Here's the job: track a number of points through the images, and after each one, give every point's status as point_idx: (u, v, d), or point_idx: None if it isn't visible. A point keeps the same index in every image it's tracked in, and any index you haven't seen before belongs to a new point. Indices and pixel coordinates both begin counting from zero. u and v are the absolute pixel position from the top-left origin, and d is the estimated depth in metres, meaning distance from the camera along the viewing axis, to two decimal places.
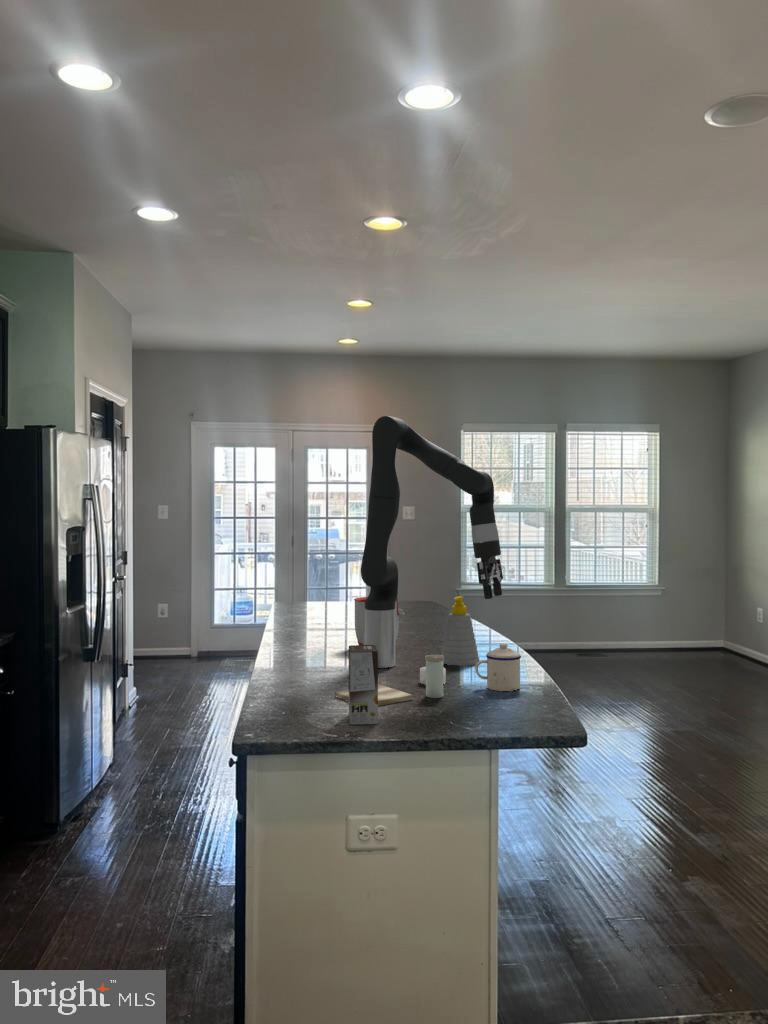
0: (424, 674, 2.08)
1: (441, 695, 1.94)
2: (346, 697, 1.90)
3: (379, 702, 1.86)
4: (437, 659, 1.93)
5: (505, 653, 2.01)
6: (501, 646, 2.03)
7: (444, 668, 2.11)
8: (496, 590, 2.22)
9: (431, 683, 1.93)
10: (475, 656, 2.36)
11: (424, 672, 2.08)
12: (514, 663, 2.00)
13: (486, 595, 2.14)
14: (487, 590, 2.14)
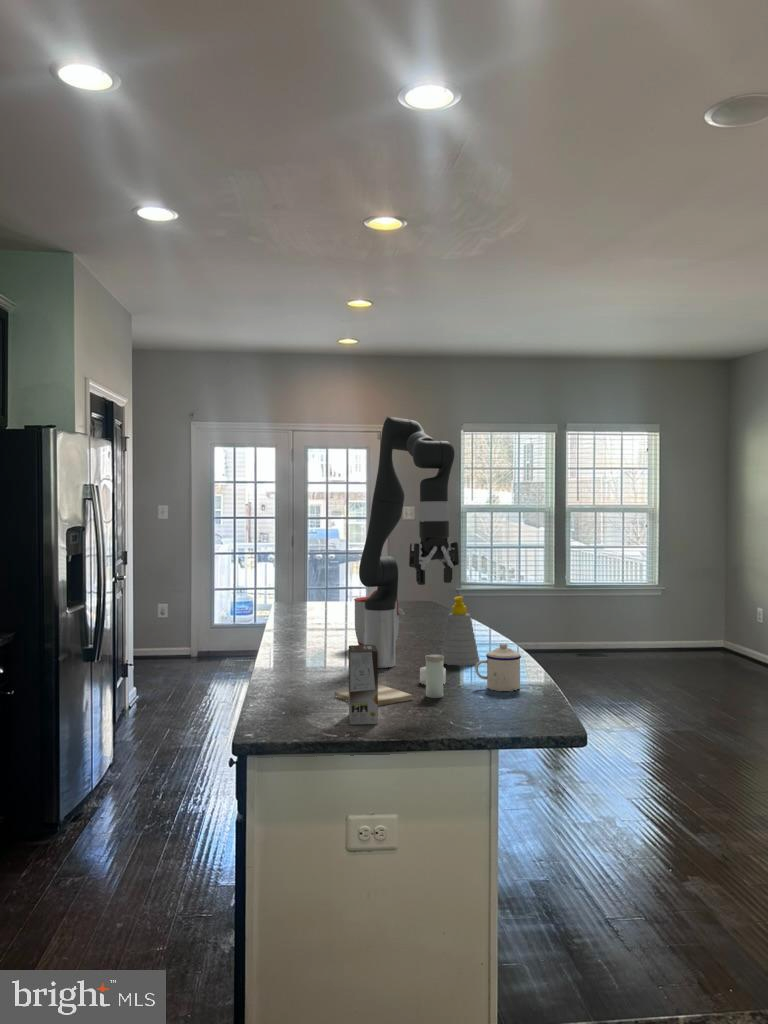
0: (424, 674, 2.08)
1: (441, 695, 1.94)
2: (346, 697, 1.90)
3: (379, 702, 1.86)
4: (437, 659, 1.93)
5: (505, 653, 2.01)
6: (501, 646, 2.03)
7: (444, 668, 2.11)
8: (445, 576, 1.98)
9: (431, 683, 1.93)
10: (475, 656, 2.36)
11: (424, 672, 2.08)
12: (513, 663, 2.00)
13: (417, 580, 1.93)
14: (418, 575, 1.92)
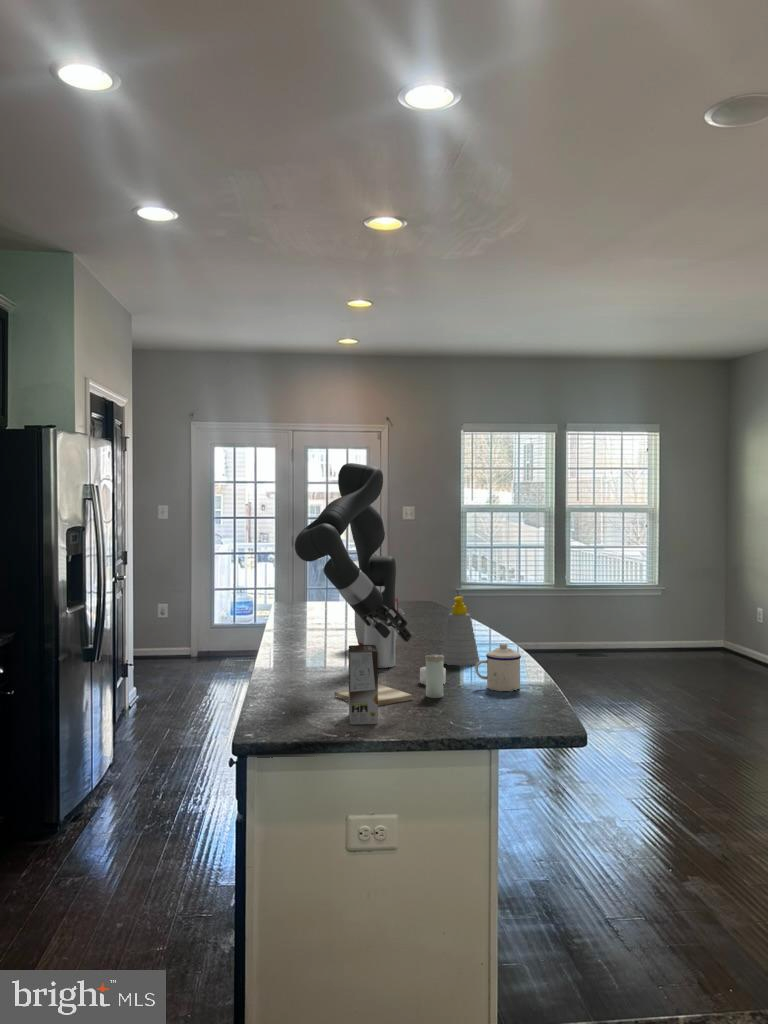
0: (424, 674, 2.08)
1: (441, 695, 1.94)
2: (346, 697, 1.90)
3: (379, 702, 1.86)
4: (437, 659, 1.93)
5: (505, 653, 2.01)
6: (501, 646, 2.03)
7: (444, 668, 2.11)
8: None
9: (431, 683, 1.93)
10: (475, 656, 2.36)
11: (424, 672, 2.08)
12: (513, 663, 2.00)
13: None
14: None
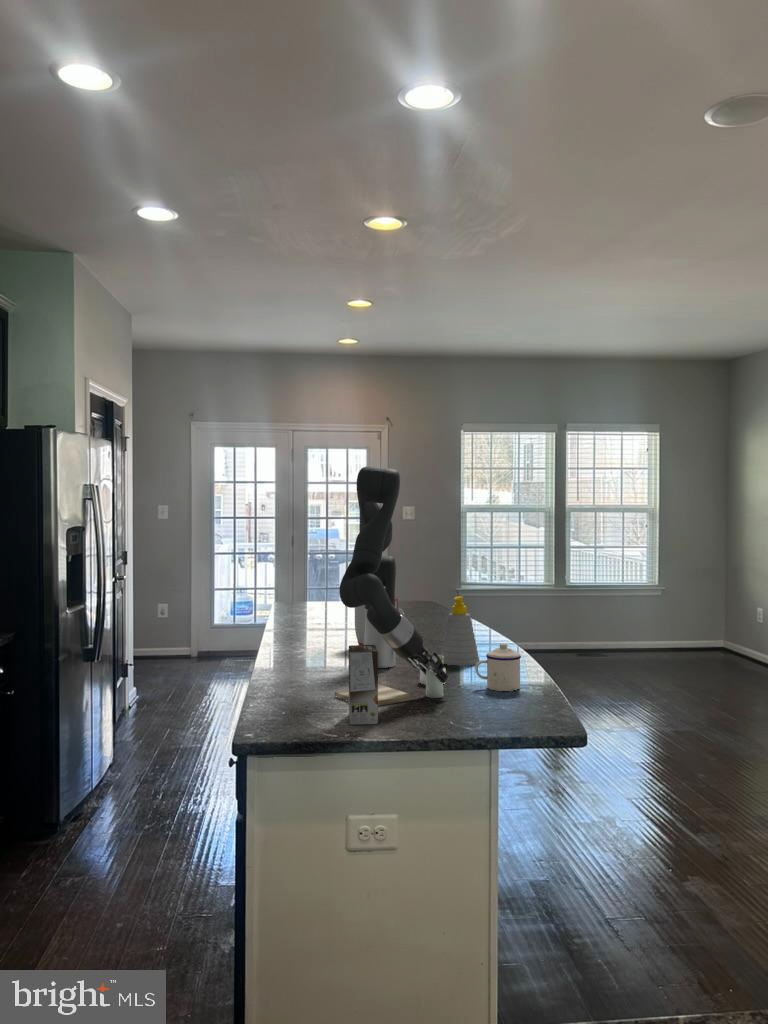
0: (423, 674, 2.08)
1: (441, 695, 1.94)
2: (346, 697, 1.90)
3: (379, 702, 1.86)
4: None
5: (505, 653, 2.01)
6: (501, 646, 2.03)
7: (444, 668, 2.11)
8: None
9: (431, 683, 1.93)
10: (475, 656, 2.36)
11: None
12: (514, 663, 2.00)
13: None
14: None
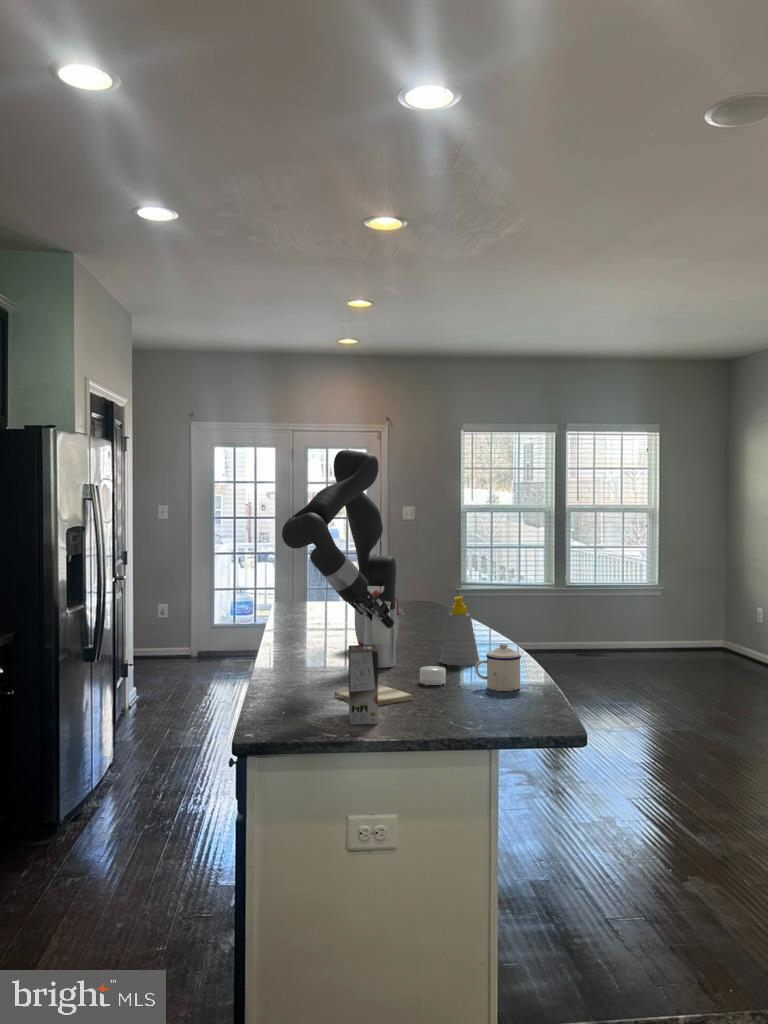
0: (423, 674, 2.08)
1: (387, 641, 1.92)
2: (346, 697, 1.90)
3: (379, 702, 1.86)
4: None
5: (505, 653, 2.01)
6: (501, 646, 2.03)
7: (444, 668, 2.10)
8: None
9: (377, 628, 1.91)
10: (475, 656, 2.36)
11: (423, 672, 2.08)
12: (513, 663, 2.00)
13: None
14: None
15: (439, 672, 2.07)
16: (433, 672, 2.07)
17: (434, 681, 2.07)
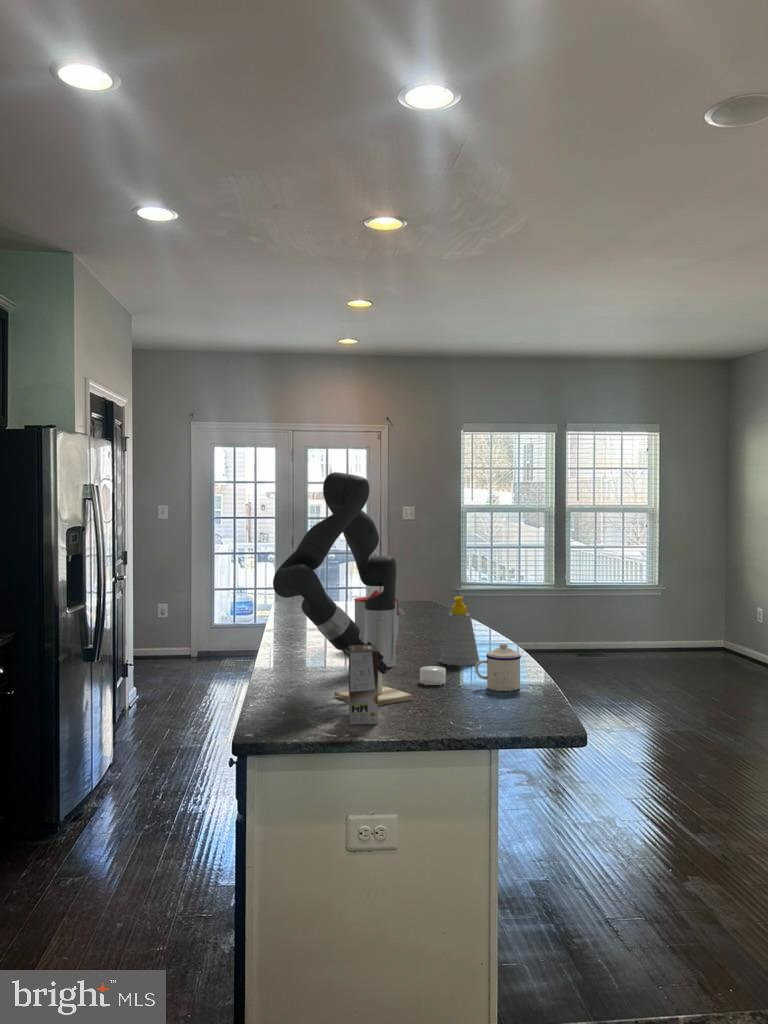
0: (423, 674, 2.08)
1: (379, 693, 1.91)
2: (346, 697, 1.90)
3: (379, 702, 1.86)
4: None
5: (505, 653, 2.01)
6: (501, 646, 2.03)
7: (444, 668, 2.10)
8: None
9: None
10: (475, 656, 2.36)
11: (423, 672, 2.08)
12: (513, 663, 2.00)
13: None
14: None
15: (439, 672, 2.07)
16: (433, 672, 2.07)
17: (434, 681, 2.07)
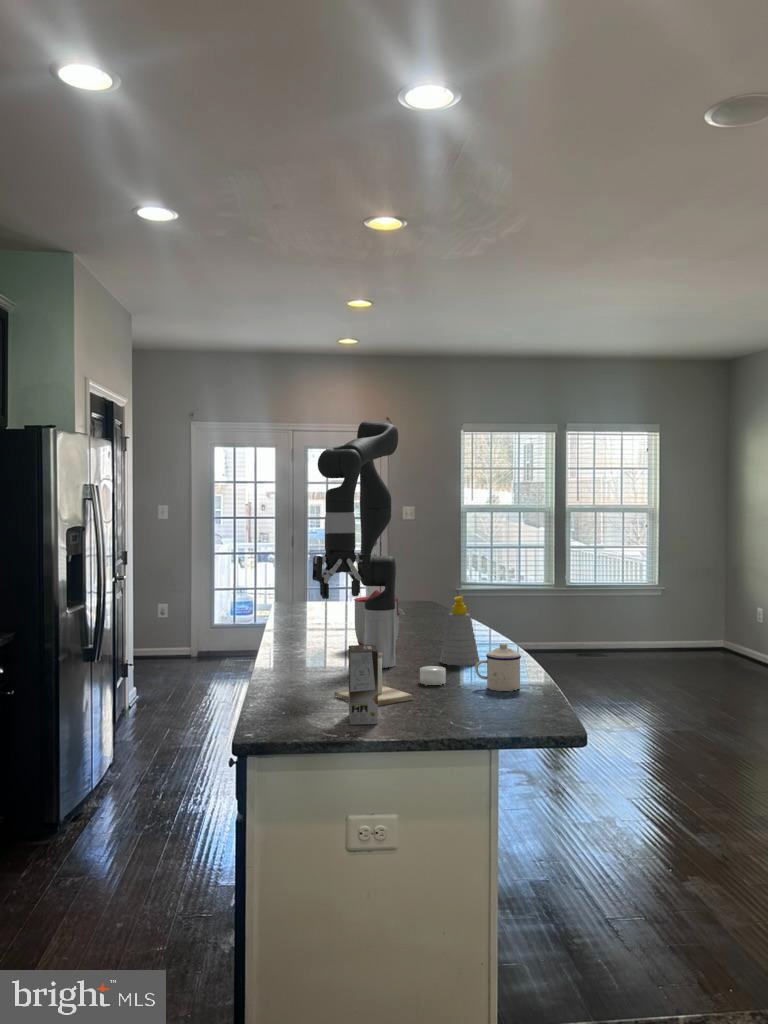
0: (423, 674, 2.08)
1: (379, 693, 1.91)
2: (346, 697, 1.90)
3: (379, 702, 1.86)
4: None
5: (505, 653, 2.01)
6: (501, 646, 2.03)
7: (444, 668, 2.10)
8: (353, 589, 1.91)
9: None
10: (475, 656, 2.36)
11: (423, 672, 2.08)
12: (513, 663, 2.00)
13: (321, 594, 1.86)
14: (322, 589, 1.86)
15: (439, 672, 2.07)
16: (433, 672, 2.07)
17: (433, 681, 2.07)
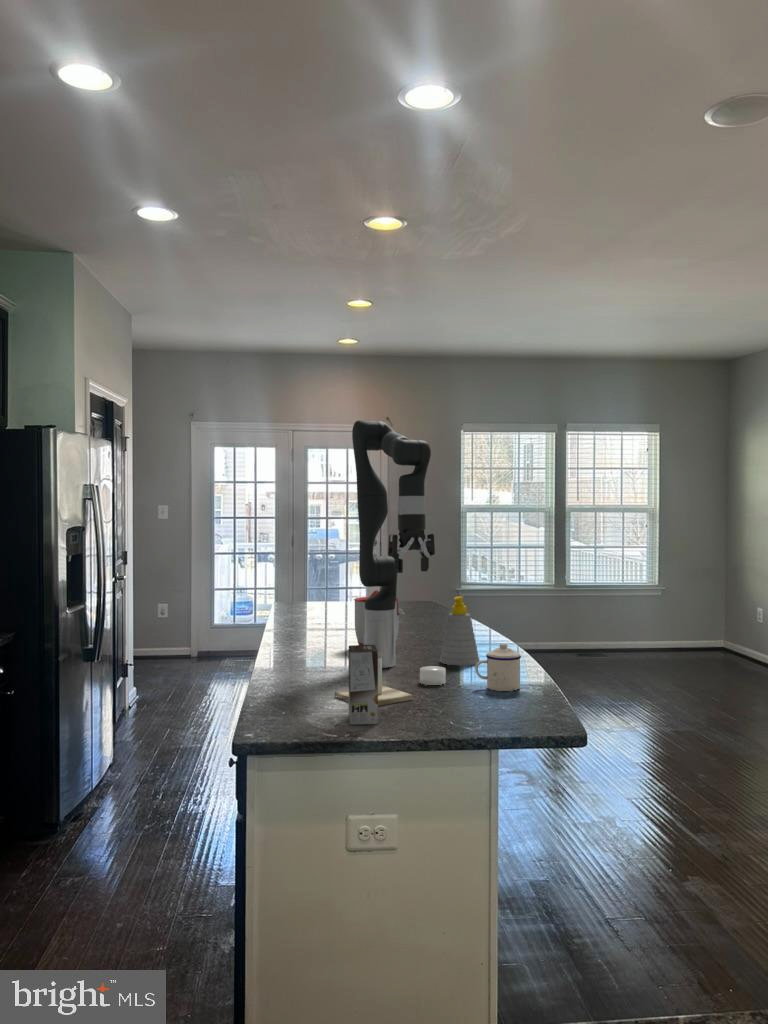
0: (423, 674, 2.08)
1: (379, 693, 1.91)
2: (346, 697, 1.90)
3: (379, 702, 1.86)
4: None
5: (505, 653, 2.01)
6: (501, 646, 2.03)
7: (444, 668, 2.10)
8: (422, 565, 2.14)
9: None
10: (475, 656, 2.36)
11: (423, 672, 2.08)
12: (513, 663, 2.00)
13: (396, 569, 2.09)
14: (396, 564, 2.08)
15: (438, 672, 2.07)
16: (432, 672, 2.07)
17: (433, 681, 2.07)
